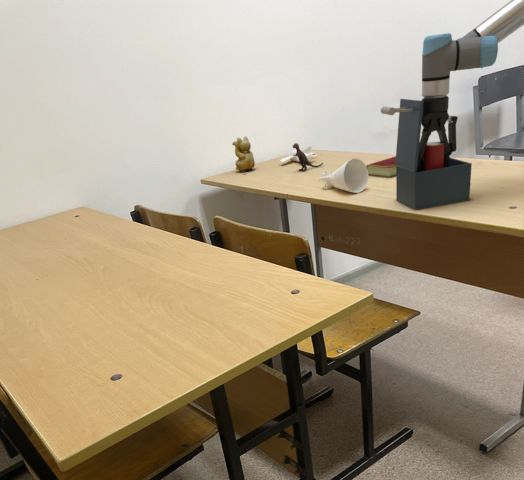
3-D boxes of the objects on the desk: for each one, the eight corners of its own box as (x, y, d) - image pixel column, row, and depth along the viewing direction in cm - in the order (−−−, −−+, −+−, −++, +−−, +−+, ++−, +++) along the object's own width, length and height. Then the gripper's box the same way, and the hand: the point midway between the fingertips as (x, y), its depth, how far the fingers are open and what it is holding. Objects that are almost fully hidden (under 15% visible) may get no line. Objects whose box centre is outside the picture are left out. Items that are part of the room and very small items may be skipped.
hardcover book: (366, 175, 209) (365, 164, 207) (402, 164, 219) (402, 153, 217) (389, 177, 200) (389, 166, 198) (425, 166, 210) (425, 155, 208)
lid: (402, 98, 157) (376, 100, 156) (423, 100, 145) (395, 102, 144) (397, 164, 166) (372, 166, 164) (416, 171, 154) (389, 173, 153)
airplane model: (307, 156, 262) (305, 140, 258) (330, 159, 246) (329, 142, 243) (272, 164, 254) (270, 148, 250) (294, 168, 239) (293, 151, 235)
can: (446, 180, 160) (448, 143, 155) (425, 183, 160) (426, 146, 155) (438, 176, 166) (439, 140, 161) (418, 179, 166) (418, 143, 161)
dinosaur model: (291, 143, 226) (319, 139, 232) (291, 171, 232) (319, 166, 238) (296, 144, 223) (325, 140, 229) (296, 173, 229) (324, 168, 235)
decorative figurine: (247, 168, 254) (243, 134, 247) (260, 168, 249) (256, 134, 242) (233, 172, 248) (228, 138, 241) (246, 173, 243) (241, 138, 236)
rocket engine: (317, 160, 196) (350, 151, 181) (339, 175, 203) (372, 168, 188) (307, 188, 196) (339, 182, 181) (329, 203, 202) (362, 198, 187)
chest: (447, 191, 173) (448, 156, 168) (469, 200, 161) (471, 163, 156) (396, 200, 171) (396, 165, 166) (414, 209, 159) (415, 173, 154)
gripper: (459, 91, 156) (455, 171, 167) (397, 100, 154) (397, 181, 165) (473, 92, 150) (467, 175, 161) (408, 102, 147) (407, 186, 159)
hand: (432, 178), depth 163 cm, fingers closed on can, 6 cm apart
